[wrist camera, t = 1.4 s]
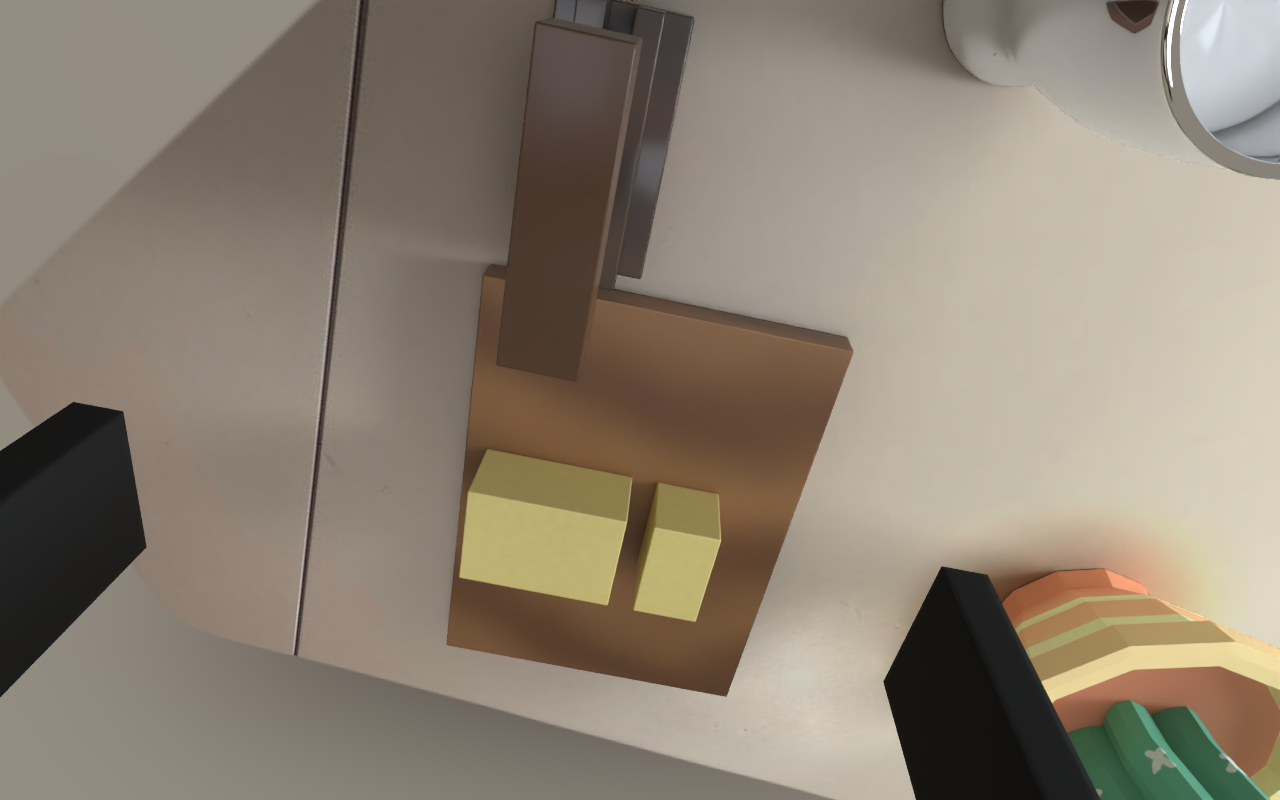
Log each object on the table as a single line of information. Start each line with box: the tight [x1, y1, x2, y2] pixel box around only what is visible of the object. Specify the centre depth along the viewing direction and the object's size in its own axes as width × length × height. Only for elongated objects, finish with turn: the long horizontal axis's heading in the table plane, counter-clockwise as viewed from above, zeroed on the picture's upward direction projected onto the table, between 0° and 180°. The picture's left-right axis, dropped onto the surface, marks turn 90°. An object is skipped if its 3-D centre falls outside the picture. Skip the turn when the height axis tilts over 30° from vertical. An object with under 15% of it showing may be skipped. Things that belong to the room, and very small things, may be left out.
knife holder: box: [553, 0, 694, 291], centre depth 29 cm, size 10×5×3 cm, turn 169°
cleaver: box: [496, 18, 643, 381], centre depth 24 cm, size 9×2×11 cm, turn 169°
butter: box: [459, 449, 632, 605], centre depth 35 cm, size 5×7×4 cm
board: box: [447, 264, 853, 697], centre depth 38 cm, size 22×16×2 cm
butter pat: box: [633, 483, 721, 622], centre depth 35 cm, size 5×3×4 cm, turn 169°
